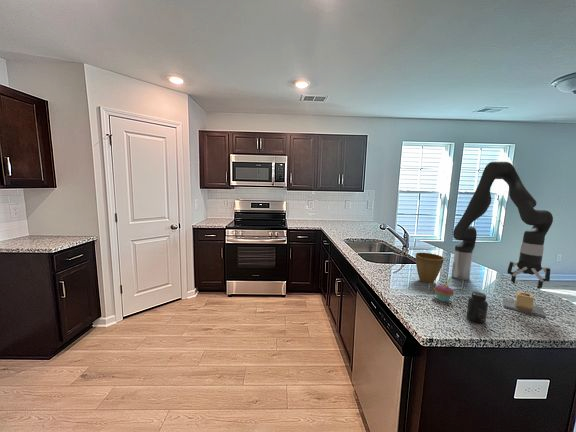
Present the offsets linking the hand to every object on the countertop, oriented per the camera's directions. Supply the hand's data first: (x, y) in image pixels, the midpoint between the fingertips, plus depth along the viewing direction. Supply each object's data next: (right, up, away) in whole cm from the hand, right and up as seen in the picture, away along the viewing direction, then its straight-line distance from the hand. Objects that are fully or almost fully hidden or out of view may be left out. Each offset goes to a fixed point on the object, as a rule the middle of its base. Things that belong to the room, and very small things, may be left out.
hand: (525, 285), depth 118 cm
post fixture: (0, -11, +1) cm, 11 cm away
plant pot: (-28, -7, +33) cm, 44 cm away
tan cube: (0, -10, +1) cm, 10 cm away
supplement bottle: (-32, -12, -11) cm, 36 cm away
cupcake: (-34, -10, +9) cm, 36 cm away
